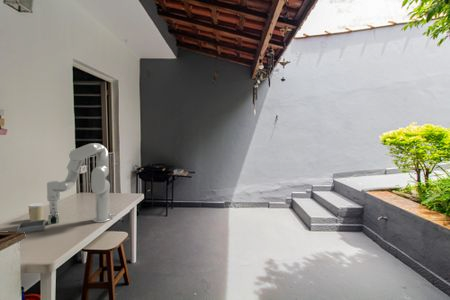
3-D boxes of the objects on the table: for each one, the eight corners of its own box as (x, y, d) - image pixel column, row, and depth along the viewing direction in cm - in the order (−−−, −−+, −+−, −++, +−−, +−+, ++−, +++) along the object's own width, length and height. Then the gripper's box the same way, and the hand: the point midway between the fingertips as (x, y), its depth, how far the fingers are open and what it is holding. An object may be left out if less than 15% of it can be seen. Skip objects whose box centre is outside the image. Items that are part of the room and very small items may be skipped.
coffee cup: (31, 218, 183) (31, 203, 183) (46, 217, 187) (45, 202, 186) (26, 222, 174) (26, 206, 174) (41, 221, 178) (41, 205, 177)
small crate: (59, 220, 181) (59, 213, 181) (59, 222, 176) (58, 216, 176) (48, 221, 178) (48, 215, 177) (48, 224, 172) (48, 217, 172)
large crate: (45, 224, 172) (45, 219, 172) (44, 230, 161) (44, 225, 161) (20, 227, 164) (20, 223, 164) (16, 234, 153) (16, 229, 153)
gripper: (59, 199, 171) (59, 224, 172) (59, 194, 185) (59, 217, 186) (46, 201, 167) (46, 226, 168) (47, 195, 181) (48, 218, 182)
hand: (53, 221), depth 177 cm, fingers closed on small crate, 6 cm apart
